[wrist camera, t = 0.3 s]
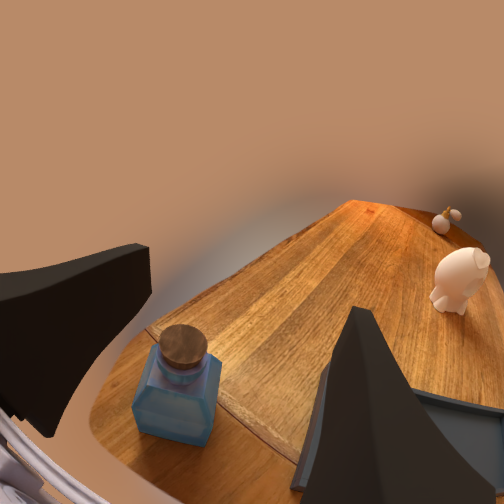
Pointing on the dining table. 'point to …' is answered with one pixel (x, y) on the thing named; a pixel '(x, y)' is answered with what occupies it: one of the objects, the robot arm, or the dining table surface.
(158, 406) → the perfume bottle
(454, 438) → the tray
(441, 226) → the perfume bottle
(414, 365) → the dining table surface
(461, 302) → the figurine
